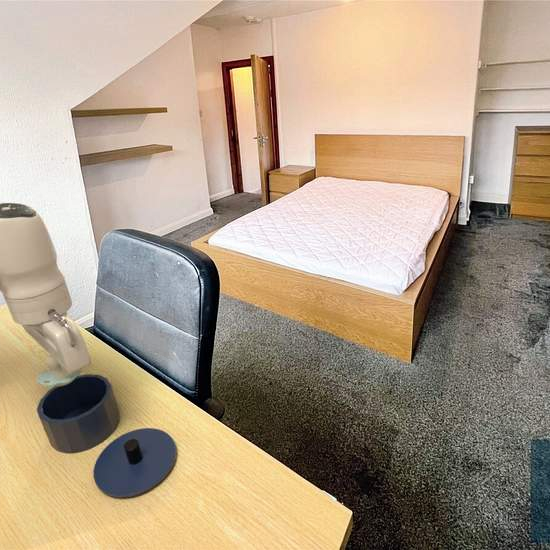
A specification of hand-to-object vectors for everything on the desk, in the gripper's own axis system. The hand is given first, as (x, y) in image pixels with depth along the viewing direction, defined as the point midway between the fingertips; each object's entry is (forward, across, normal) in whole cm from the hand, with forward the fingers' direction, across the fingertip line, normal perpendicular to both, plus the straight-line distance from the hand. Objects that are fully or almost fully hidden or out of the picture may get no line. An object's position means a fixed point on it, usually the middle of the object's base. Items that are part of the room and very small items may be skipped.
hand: (65, 368), depth 73 cm
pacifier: (+3, +1, 0) cm, 3 cm away
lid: (+13, -16, -2) cm, 21 cm away
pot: (+14, 0, 0) cm, 14 cm away
